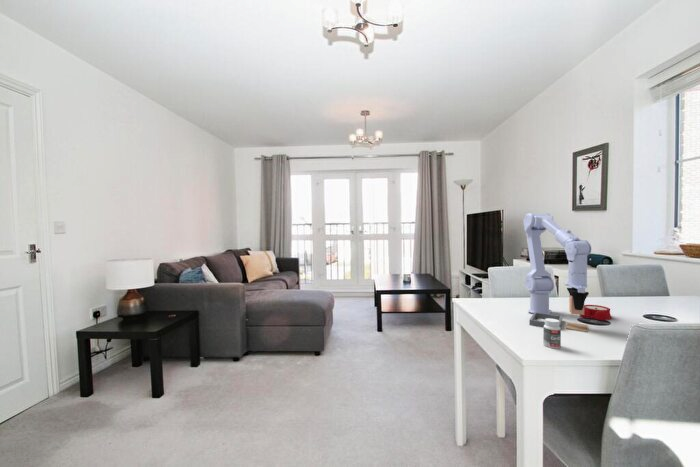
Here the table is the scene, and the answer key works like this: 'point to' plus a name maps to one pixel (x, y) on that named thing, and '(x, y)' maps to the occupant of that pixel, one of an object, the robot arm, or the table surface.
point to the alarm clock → (596, 312)
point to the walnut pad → (576, 327)
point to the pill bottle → (552, 333)
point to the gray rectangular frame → (543, 316)
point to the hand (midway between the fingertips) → (577, 308)
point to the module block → (572, 308)
